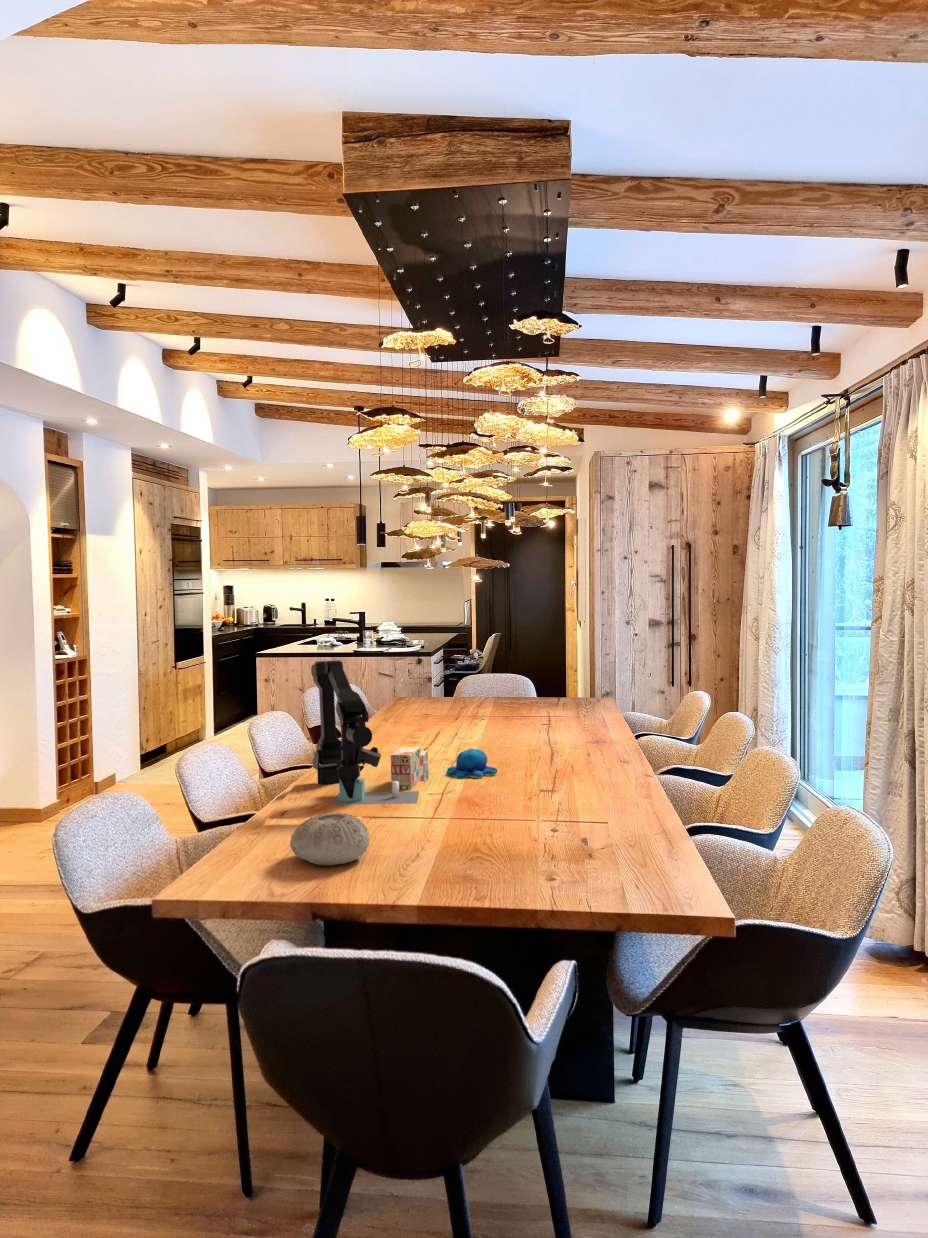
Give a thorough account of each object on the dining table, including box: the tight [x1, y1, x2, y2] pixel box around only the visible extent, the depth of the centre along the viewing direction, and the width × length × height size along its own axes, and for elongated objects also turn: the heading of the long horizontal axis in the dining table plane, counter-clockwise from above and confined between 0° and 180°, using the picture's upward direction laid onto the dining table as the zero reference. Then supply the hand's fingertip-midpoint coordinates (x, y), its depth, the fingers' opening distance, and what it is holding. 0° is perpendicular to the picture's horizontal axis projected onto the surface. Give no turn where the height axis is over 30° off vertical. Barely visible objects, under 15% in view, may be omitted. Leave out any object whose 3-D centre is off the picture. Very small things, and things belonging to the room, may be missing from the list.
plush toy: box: [445, 748, 498, 780], centre depth 285 cm, size 17×17×8 cm
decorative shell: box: [289, 811, 370, 867], centre depth 196 cm, size 18×18×10 cm
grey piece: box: [331, 781, 420, 806], centre depth 247 cm, size 24×14×6 cm, turn 91°
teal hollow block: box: [338, 777, 366, 801], centre depth 247 cm, size 6×6×5 cm
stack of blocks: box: [390, 746, 429, 791], centre depth 268 cm, size 21×6×12 cm, turn 168°
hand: (352, 794), depth 247 cm, fingers open, 7 cm apart
